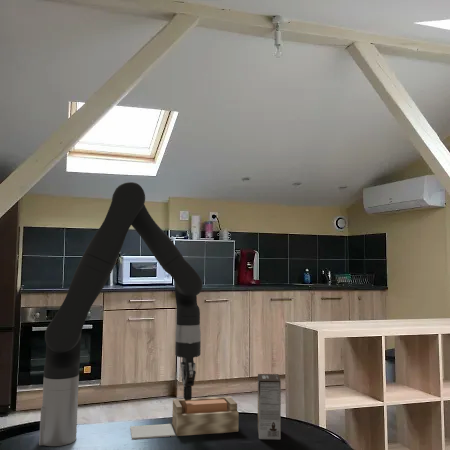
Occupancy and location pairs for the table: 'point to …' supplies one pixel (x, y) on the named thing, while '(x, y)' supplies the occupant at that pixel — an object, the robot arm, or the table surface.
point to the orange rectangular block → (205, 406)
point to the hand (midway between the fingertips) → (187, 399)
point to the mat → (151, 431)
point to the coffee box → (269, 406)
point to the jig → (204, 418)
